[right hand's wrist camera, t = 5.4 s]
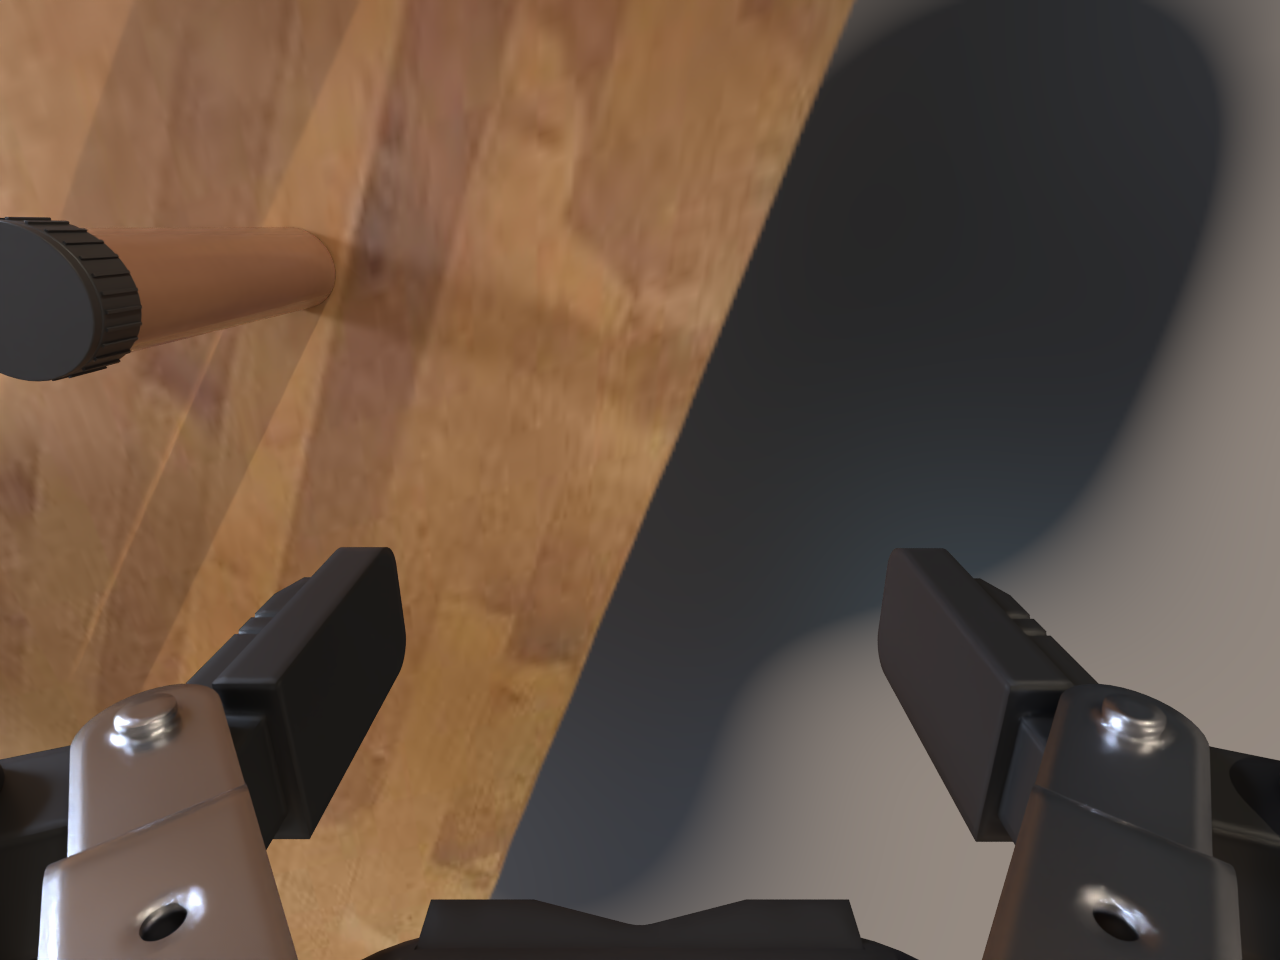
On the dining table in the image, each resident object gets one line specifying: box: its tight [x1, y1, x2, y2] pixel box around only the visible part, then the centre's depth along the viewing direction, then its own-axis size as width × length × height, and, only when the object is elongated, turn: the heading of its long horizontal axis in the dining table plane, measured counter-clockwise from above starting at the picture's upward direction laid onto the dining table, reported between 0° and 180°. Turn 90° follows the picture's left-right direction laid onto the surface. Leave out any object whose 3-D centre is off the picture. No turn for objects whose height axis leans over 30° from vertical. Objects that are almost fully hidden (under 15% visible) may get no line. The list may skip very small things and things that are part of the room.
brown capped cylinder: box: [85, 227, 335, 352], centre depth 29 cm, size 4×4×18 cm
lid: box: [0, 217, 142, 381], centre depth 21 cm, size 5×5×2 cm
